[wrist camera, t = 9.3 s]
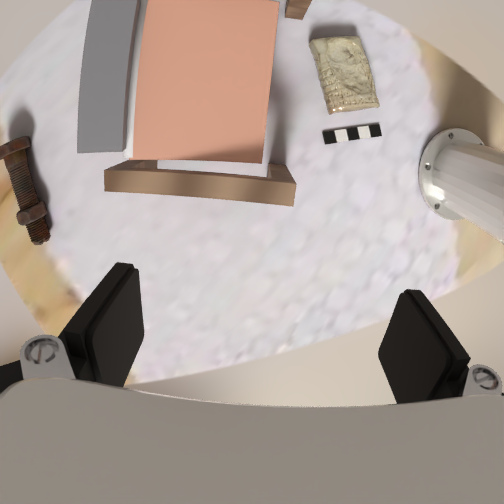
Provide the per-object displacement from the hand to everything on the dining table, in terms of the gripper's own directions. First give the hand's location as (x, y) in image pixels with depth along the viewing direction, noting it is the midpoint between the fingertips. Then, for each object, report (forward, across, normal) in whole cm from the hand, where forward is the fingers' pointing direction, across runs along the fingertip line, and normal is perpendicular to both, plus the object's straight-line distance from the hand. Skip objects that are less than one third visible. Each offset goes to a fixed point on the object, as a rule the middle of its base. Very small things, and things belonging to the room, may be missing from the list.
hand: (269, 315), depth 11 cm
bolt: (+29, +32, +4) cm, 43 cm away
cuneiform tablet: (+26, -11, -12) cm, 31 cm away
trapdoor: (+22, +9, -10) cm, 25 cm away
